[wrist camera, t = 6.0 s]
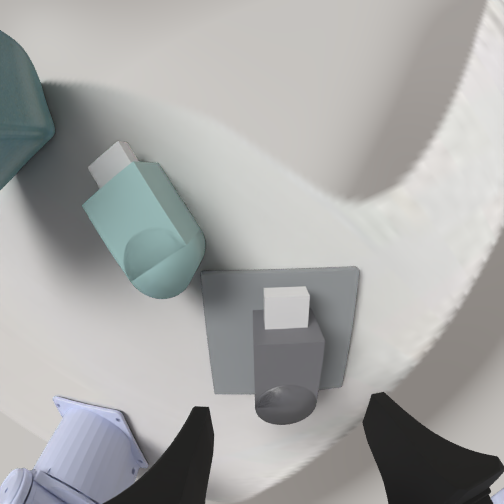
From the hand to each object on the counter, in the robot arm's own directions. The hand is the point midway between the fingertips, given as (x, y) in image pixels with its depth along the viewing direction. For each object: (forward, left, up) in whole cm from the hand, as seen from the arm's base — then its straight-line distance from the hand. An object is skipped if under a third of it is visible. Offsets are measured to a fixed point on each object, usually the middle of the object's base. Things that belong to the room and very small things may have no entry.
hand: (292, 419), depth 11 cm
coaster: (0, 0, -7) cm, 7 cm away
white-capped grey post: (0, 0, -6) cm, 6 cm away
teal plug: (+8, +7, -7) cm, 13 cm away
